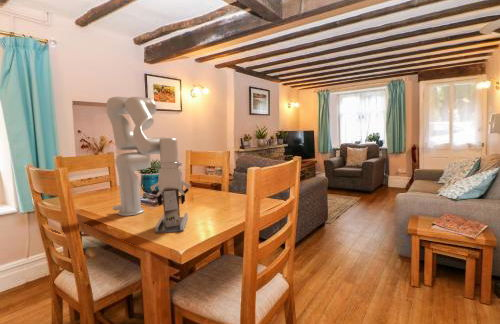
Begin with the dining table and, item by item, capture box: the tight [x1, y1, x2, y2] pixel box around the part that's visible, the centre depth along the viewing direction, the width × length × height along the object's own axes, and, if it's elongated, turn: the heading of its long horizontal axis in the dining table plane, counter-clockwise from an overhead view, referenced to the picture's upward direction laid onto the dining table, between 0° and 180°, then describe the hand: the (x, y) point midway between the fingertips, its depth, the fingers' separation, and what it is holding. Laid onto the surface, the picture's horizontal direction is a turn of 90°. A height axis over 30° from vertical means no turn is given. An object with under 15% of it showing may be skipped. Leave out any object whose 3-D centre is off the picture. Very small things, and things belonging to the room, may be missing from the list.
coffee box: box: [162, 189, 181, 227], centre depth 124 cm, size 9×6×16 cm
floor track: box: [154, 212, 189, 234], centre depth 124 cm, size 11×18×3 cm, turn 7°
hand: (171, 204), depth 123 cm, fingers open, 9 cm apart
